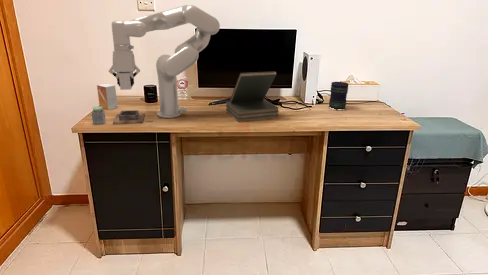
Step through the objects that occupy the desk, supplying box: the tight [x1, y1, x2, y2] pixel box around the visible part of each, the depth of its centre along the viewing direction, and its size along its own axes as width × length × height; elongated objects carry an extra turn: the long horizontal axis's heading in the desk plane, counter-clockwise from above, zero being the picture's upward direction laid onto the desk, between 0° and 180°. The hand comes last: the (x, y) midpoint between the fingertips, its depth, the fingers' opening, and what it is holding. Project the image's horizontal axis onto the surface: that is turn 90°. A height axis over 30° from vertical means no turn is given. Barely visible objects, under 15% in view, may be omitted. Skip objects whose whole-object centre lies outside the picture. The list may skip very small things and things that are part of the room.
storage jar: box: [328, 81, 349, 109], centre depth 203 cm, size 10×10×15 cm
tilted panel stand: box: [225, 70, 279, 123], centre depth 185 cm, size 23×20×25 cm
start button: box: [92, 105, 104, 112], centre depth 170 cm, size 4×4×7 cm
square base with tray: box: [112, 109, 146, 125], centre depth 176 cm, size 14×14×4 cm
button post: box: [91, 108, 107, 125], centre depth 170 cm, size 5×5×6 cm
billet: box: [119, 72, 133, 91], centre depth 169 cm, size 5×5×8 cm
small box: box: [96, 83, 118, 111], centre depth 194 cm, size 8×6×13 cm
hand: (126, 85), depth 170 cm, fingers closed on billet, 5 cm apart
